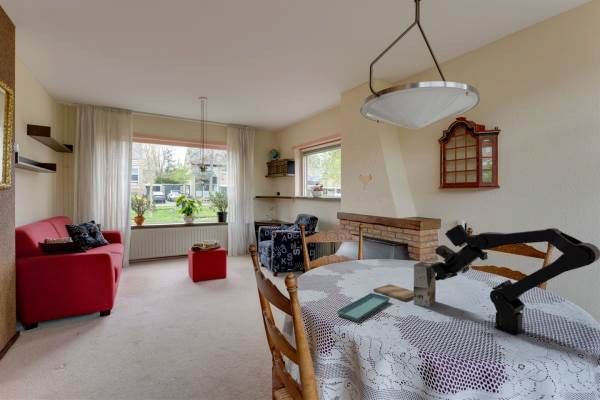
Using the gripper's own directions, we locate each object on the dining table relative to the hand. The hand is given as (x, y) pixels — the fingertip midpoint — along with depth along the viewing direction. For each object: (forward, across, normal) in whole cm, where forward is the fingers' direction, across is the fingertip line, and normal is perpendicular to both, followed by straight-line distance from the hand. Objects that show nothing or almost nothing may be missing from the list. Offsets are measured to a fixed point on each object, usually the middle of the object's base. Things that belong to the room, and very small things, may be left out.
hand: (435, 279), depth 118 cm
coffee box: (+11, 0, +4) cm, 12 cm away
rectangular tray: (+19, +25, -2) cm, 31 cm away
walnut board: (+21, 0, -5) cm, 21 cm away
